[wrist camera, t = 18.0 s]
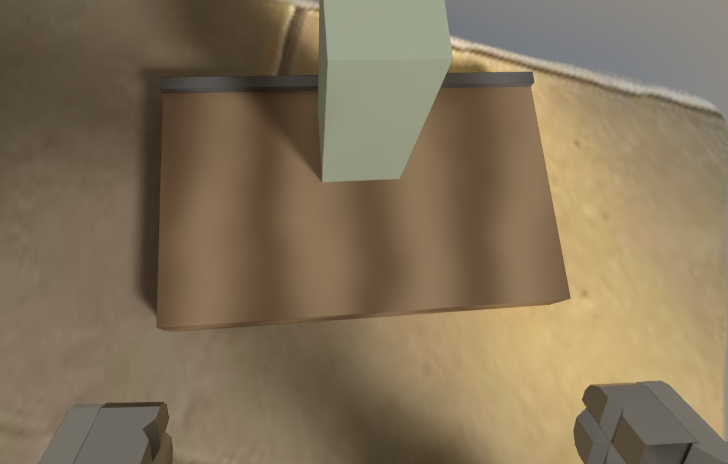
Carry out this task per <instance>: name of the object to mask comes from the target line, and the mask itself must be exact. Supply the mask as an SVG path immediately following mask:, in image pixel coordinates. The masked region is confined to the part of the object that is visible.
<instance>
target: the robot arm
mask: <svg viewBox="0 0 728 464" xmlns="http://www.w3.org/2000/svg"><path fill="white" fill-rule="evenodd" d="M582 401H583V403H584V405H585V406H586V409H585V410H584V411H583V412H582V413H581V414H580V415H578V416H577V418H576V422H575V426H574V430H573V431H574V440H575V446H576V448H577V451H578V454H579V456H580V458H581V459H582V461H583V463H584V464H728V442H725V441H724V440H723V439H722V438H721V437H720V436H719V435H718V434H717V433H716V432H715V431H714V430H713V429H712V428H711V427H710V426H709V425H708V424H707V423H706V422H705V421H704V420H703V419H702V418H701V417H700V416H699V415H698V414H697V413H696V412H695V411H694V410H693V409H692V408H691V407H690V406H689V405H688V404H687V403H686V402H685V401H684V400H683V399H682V398H681V397H680V396H679V395H678V394H677V393H676V391H675V390H674V389H673V388H672V387H671V386H670V385H668V384H666V383H664V382H662V381H646V382H636V383H613V384H593V385H590V386H589V387H588V388H587V389H586V390H585V392H584V395H583V398H582ZM168 421H169V414H168V408H167V404H166V403H164V402H136V403H106V404H76V405H74V406H73V407H72V408H71V409H69V411H68V412H67V414H66V416H65V417H64V419H63V421H62V423H61V424H60V426H59V428H58V430H57V431H56V433H55V435H54V437H53V439H52V440H51V442H50V444H49V446H48V447H47V449H46V451H45V453H44V454H43V456H42V458H41V460H40V462H39V463H38V464H172V463H173V445H172V437H171V436H170V435H169V434H167V433H166V432H165V431H166V428H167V424H168Z"/></svg>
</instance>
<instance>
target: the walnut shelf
mask: <svg viewBox="0 0 728 464" xmlns="http://www.w3.org/2000/svg"><path fill="white" fill-rule="evenodd" d="M533 83H534V78H533V72H485V73H446V76H445V78H444V80H443V82H442V85H441V87H440V89H439V91H438V94H437V96H436V98H435V100H434V103H433V105H432V107H431V109H430V112H429V114H428V116H427V118H426V121H425V123H424V125H423V127H422V130H421V132H420V134H419V136H418V139H417V141H416V143H415V145H414V147H413V150H412V152H411V154H410V156H409V159H408V161H407V163H406V165H405V168H404V170H403V172H402V174H401V177H400V179H388V180H363V181H339V182H322V171H321V155H320V139H319V123H318V75H293V76H229V77H165V78H160V89H161V91H162V93H163V108H162V144H161V180H160V217H159V253H158V289H157V326H156V328H159V329H163V330H166V331H170V332H175V331H189V330H203V329H217V328H231V327H245V326H259V325H273V324H287V323H301V322H315V321H328V320H342V319H356V318H370V317H384V316H398V315H412V314H426V313H440V312H454V311H468V310H482V309H496V308H510V307H524V306H538V305H550V304H553V303H557V302H560V301H564V300H567V299H571V298H570V293H569V287H568V282H567V277H566V272H565V266H564V261H563V256H562V250H561V245H560V240H559V234H558V229H557V224H556V218H555V213H554V208H553V202H552V197H551V192H550V186H549V181H548V176H547V170H546V165H545V160H544V154H543V149H542V144H541V139H540V133H539V128H538V123H537V117H536V112H535V107H534V101H533V96H532V91H531V86H532V84H533Z"/></svg>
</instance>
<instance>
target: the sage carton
mask: <svg viewBox="0 0 728 464" xmlns="http://www.w3.org/2000/svg"><path fill="white" fill-rule="evenodd" d="M452 60H453V56H452V49H451V42H450V35H449V29H448V22H447V15H446V8H445V1H444V0H320V7H319V67H318V123H319V139H320V155H321V171H322V182H339V181H363V180H388V179H400V177H401V174H402V172H403V170H404V168H405V165H406V163H407V161H408V159H409V156H410V154H411V152H412V150H413V147H414V145H415V143H416V141H417V139H418V136H419V134H420V132H421V130H422V127H423V125H424V123H425V121H426V118H427V116H428V114H429V112H430V109H431V107H432V105H433V103H434V100H435V98H436V96H437V94H438V91H439V89H440V87H441V85H442V82H443V80H444V78H445V76H446V73H447V71H448V69H449V67H450V65H451V62H452Z"/></svg>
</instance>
